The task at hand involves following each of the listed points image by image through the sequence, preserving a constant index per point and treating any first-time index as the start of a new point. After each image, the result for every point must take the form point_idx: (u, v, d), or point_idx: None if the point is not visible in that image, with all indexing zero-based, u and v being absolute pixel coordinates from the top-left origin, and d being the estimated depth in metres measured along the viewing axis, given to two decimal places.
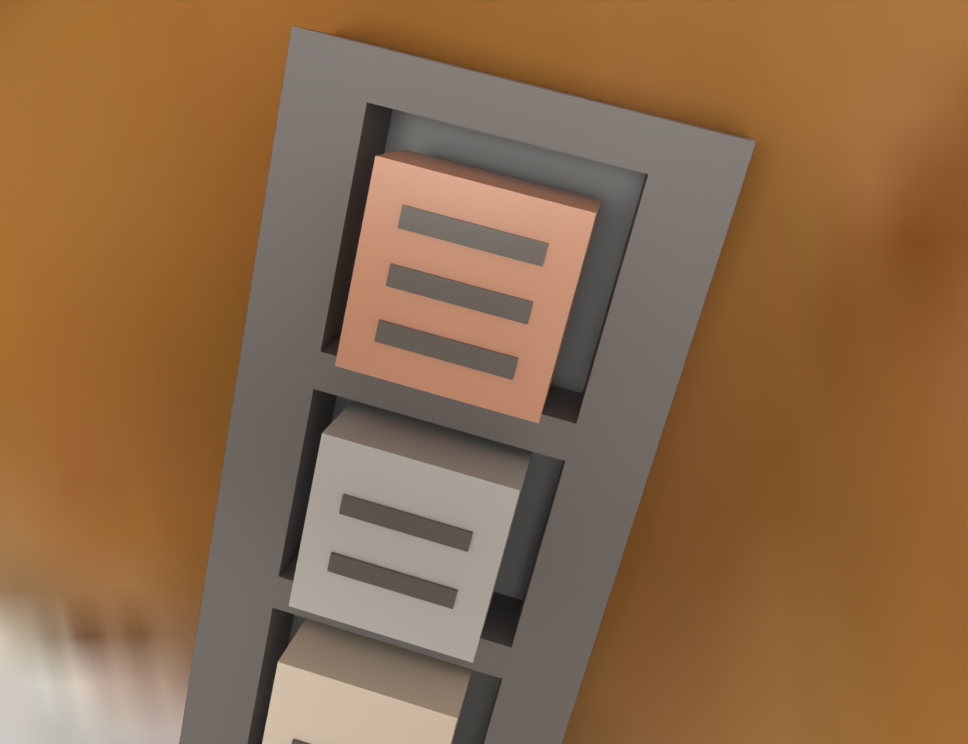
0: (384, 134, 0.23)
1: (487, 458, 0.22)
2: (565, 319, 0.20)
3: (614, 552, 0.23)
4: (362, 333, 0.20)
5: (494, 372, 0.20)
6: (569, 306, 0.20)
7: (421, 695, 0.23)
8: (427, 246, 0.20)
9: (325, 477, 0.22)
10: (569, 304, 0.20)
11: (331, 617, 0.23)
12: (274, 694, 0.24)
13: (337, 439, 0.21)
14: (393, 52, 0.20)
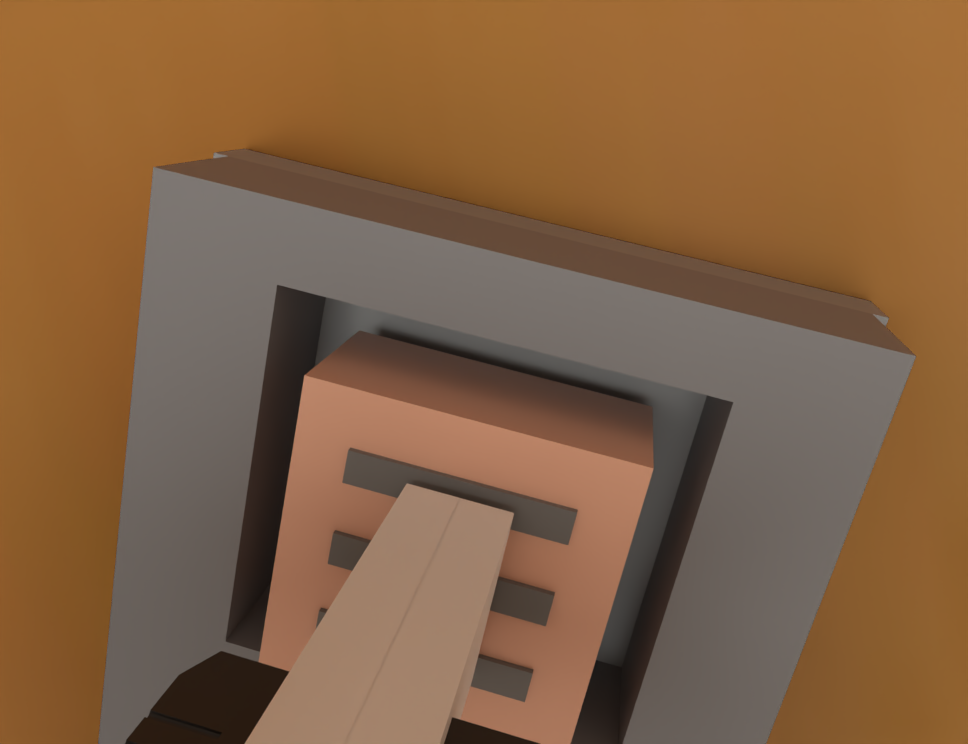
0: (318, 306, 0.15)
1: None
2: (605, 619, 0.13)
3: None
4: (297, 625, 0.13)
5: (498, 687, 0.13)
6: (611, 600, 0.13)
7: None
8: (389, 509, 0.13)
9: None
10: (611, 597, 0.13)
11: None
12: None
13: None
14: (315, 208, 0.13)
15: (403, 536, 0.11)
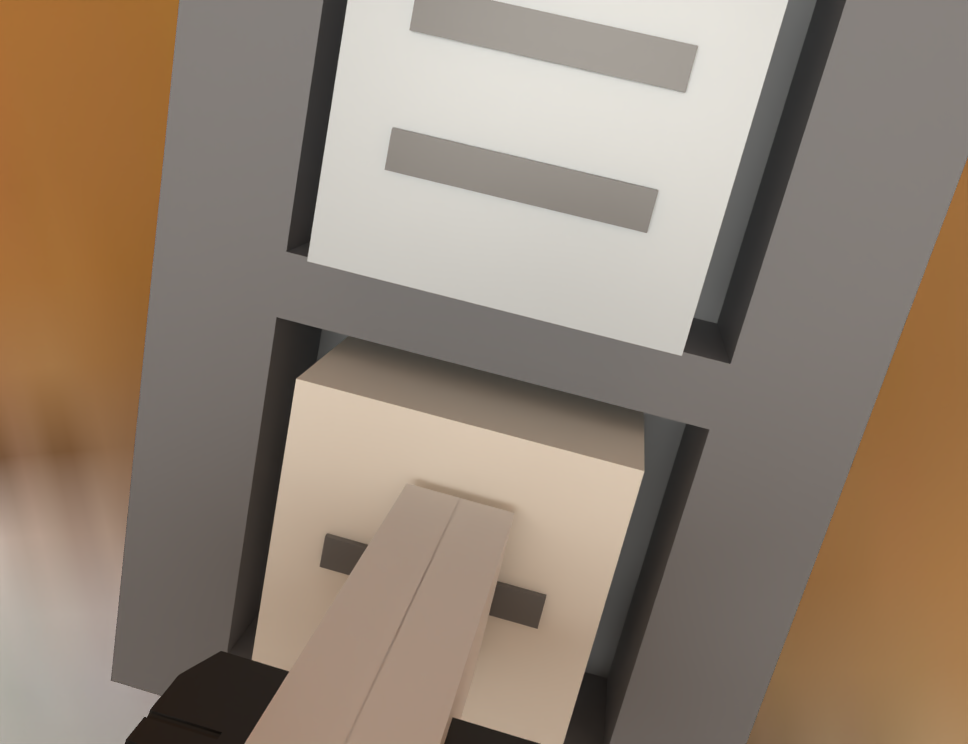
0: None
1: None
2: None
3: (956, 138, 0.11)
4: None
5: None
6: None
7: (568, 439, 0.12)
8: None
9: None
10: None
11: (393, 279, 0.11)
12: (290, 447, 0.13)
13: None
14: None
15: (404, 536, 0.11)
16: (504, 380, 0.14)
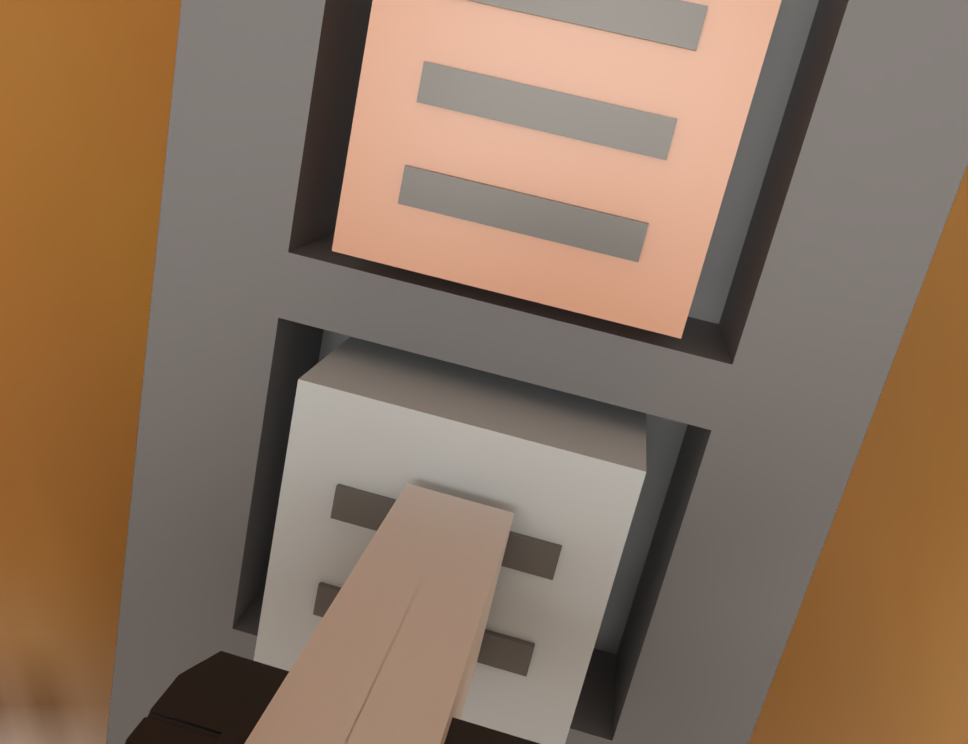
0: None
1: (579, 420, 0.13)
2: (734, 149, 0.11)
3: (792, 585, 0.13)
4: (378, 190, 0.12)
5: (606, 250, 0.12)
6: (742, 124, 0.11)
7: None
8: (488, 27, 0.11)
9: (306, 456, 0.13)
10: (742, 121, 0.11)
11: None
12: None
13: (325, 390, 0.12)
14: None
15: (403, 536, 0.11)
16: None
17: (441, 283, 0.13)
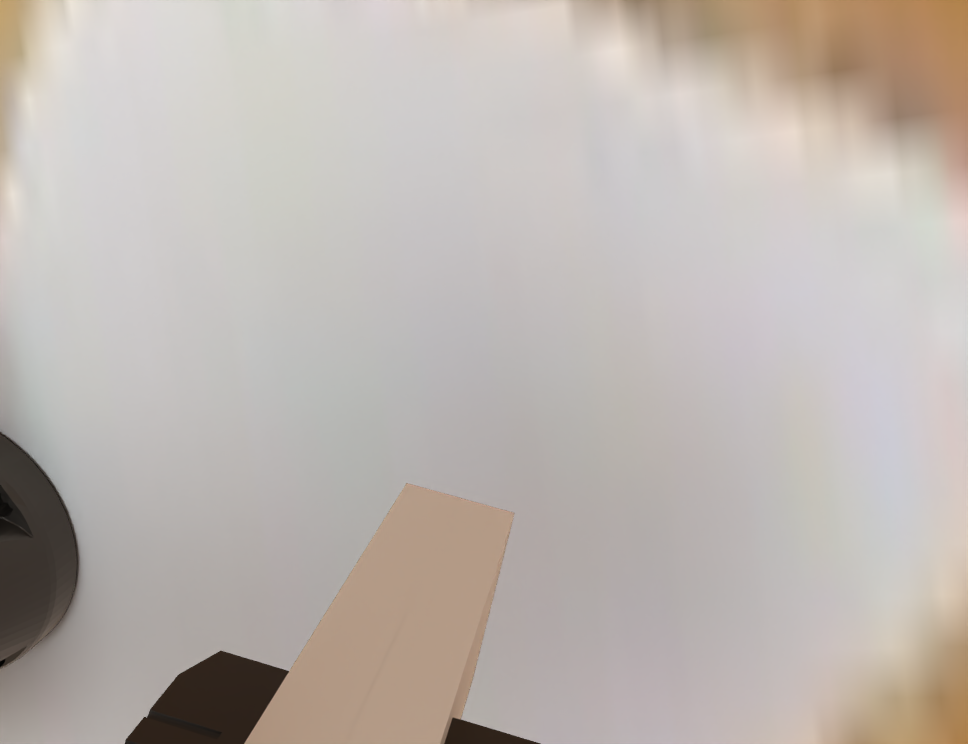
0: None
1: None
2: None
3: None
4: None
5: None
6: None
7: None
8: None
9: None
10: None
11: None
12: None
13: None
14: None
15: (403, 536, 0.11)
16: None
17: None
